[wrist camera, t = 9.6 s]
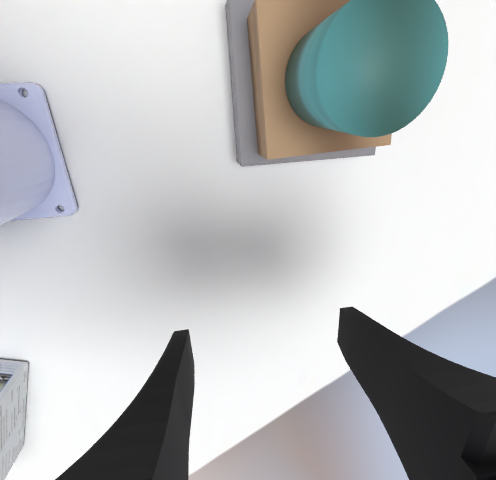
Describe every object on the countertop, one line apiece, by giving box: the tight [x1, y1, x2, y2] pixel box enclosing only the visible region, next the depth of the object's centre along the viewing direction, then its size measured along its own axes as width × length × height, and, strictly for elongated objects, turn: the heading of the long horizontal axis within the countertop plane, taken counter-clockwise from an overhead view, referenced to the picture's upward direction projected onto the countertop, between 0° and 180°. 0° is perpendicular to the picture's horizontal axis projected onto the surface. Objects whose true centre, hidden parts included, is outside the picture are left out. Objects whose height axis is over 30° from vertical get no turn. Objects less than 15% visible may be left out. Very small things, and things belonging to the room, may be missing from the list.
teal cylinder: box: [285, 0, 448, 137], centre depth 12 cm, size 4×4×5 cm
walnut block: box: [247, 0, 391, 160], centre depth 16 cm, size 7×7×3 cm
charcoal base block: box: [226, 0, 376, 166], centre depth 18 cm, size 9×9×3 cm
